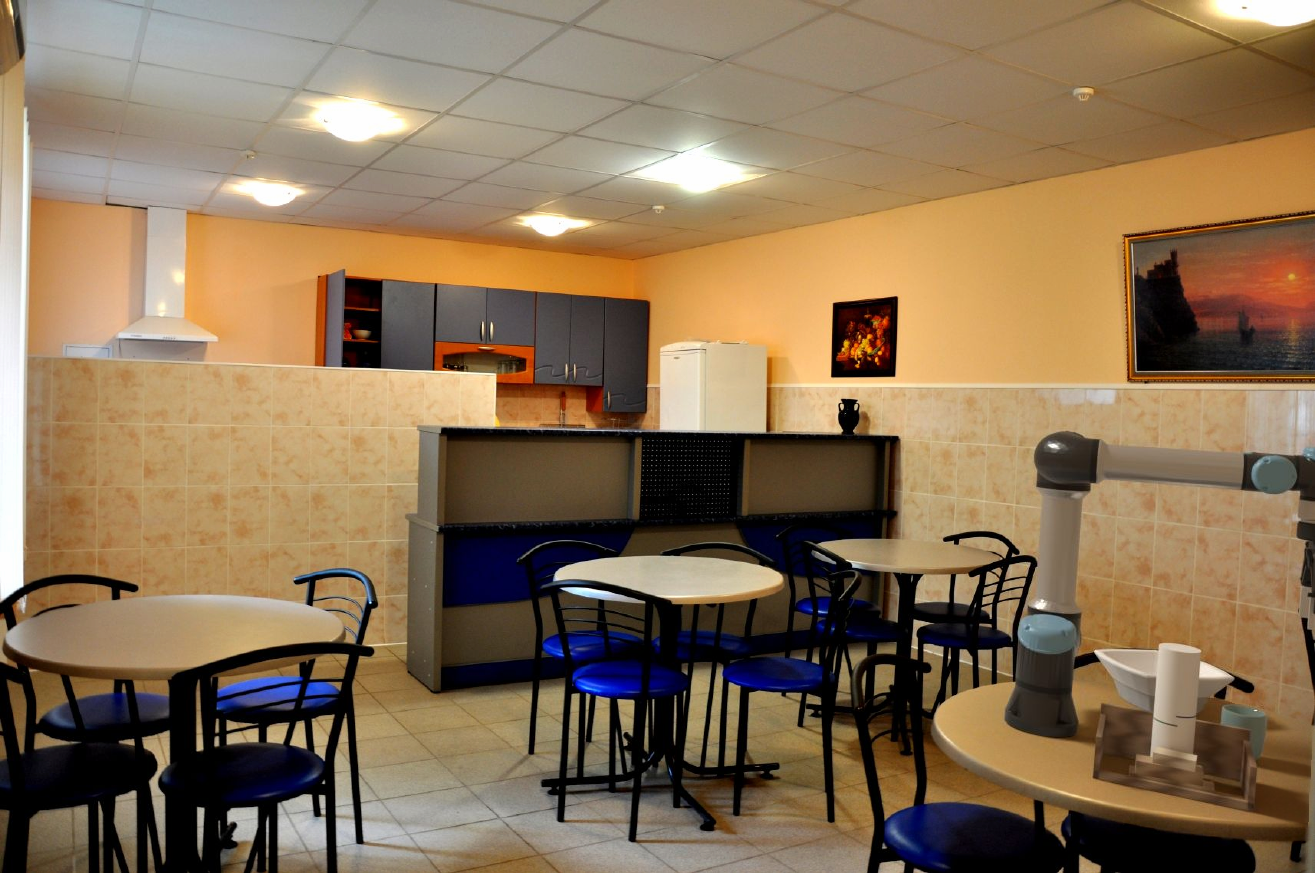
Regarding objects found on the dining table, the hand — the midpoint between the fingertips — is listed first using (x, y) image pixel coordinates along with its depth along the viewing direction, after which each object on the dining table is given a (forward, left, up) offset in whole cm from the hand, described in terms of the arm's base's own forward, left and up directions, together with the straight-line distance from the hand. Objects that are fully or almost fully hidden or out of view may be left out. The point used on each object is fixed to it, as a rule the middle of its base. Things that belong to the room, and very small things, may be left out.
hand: (1310, 623), depth 197 cm
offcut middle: (-25, -36, -26) cm, 51 cm away
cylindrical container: (-24, -29, -28) cm, 47 cm away
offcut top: (-24, -36, -24) cm, 49 cm away
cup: (-11, -9, -28) cm, 32 cm away
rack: (-24, -31, -28) cm, 48 cm away
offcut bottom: (-24, -36, -29) cm, 52 cm away
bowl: (-26, +22, -28) cm, 44 cm away
